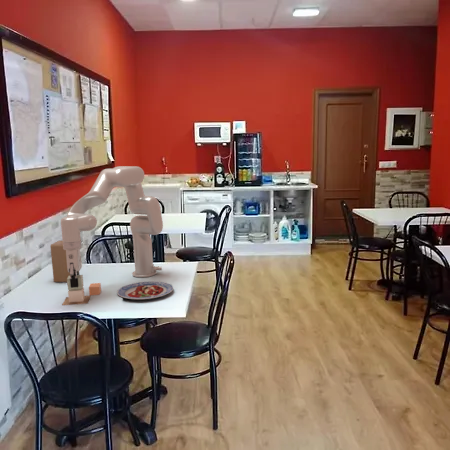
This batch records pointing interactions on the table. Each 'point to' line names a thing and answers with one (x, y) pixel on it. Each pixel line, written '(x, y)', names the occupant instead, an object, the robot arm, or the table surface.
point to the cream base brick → (76, 295)
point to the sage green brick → (80, 282)
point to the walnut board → (66, 302)
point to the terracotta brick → (95, 289)
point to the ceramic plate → (145, 290)
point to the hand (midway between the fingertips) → (75, 284)
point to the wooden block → (59, 262)
